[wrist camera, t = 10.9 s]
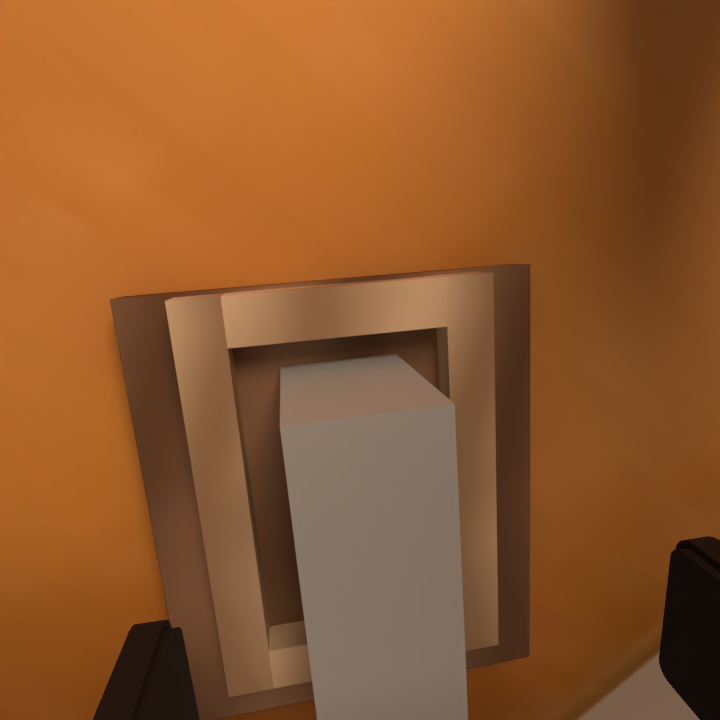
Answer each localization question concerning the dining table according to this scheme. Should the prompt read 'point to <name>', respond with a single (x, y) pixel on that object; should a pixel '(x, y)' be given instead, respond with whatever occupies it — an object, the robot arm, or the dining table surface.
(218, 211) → the dining table surface
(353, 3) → the dining table surface
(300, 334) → the jig
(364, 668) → the grey rectangular block
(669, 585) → the robot arm
